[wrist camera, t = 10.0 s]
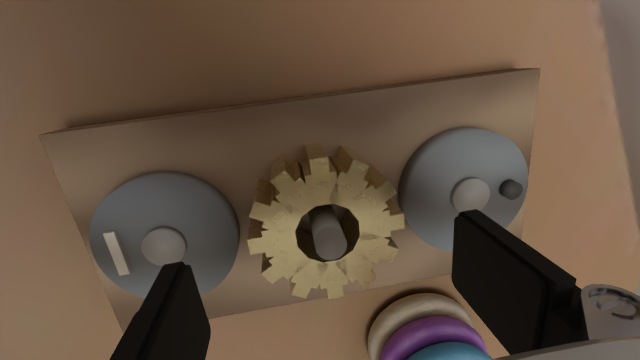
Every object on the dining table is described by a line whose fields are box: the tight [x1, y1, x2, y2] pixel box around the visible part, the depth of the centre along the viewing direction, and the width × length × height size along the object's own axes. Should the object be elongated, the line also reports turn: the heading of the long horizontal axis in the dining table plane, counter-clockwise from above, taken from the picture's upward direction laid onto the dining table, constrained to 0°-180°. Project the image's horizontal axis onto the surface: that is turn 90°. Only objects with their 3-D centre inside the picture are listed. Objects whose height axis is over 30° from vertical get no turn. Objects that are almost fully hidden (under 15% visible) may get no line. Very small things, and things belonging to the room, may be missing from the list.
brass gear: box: [247, 142, 405, 299], centre depth 16 cm, size 7×7×3 cm
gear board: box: [39, 68, 540, 334], centre depth 16 cm, size 12×25×6 cm, turn 97°
